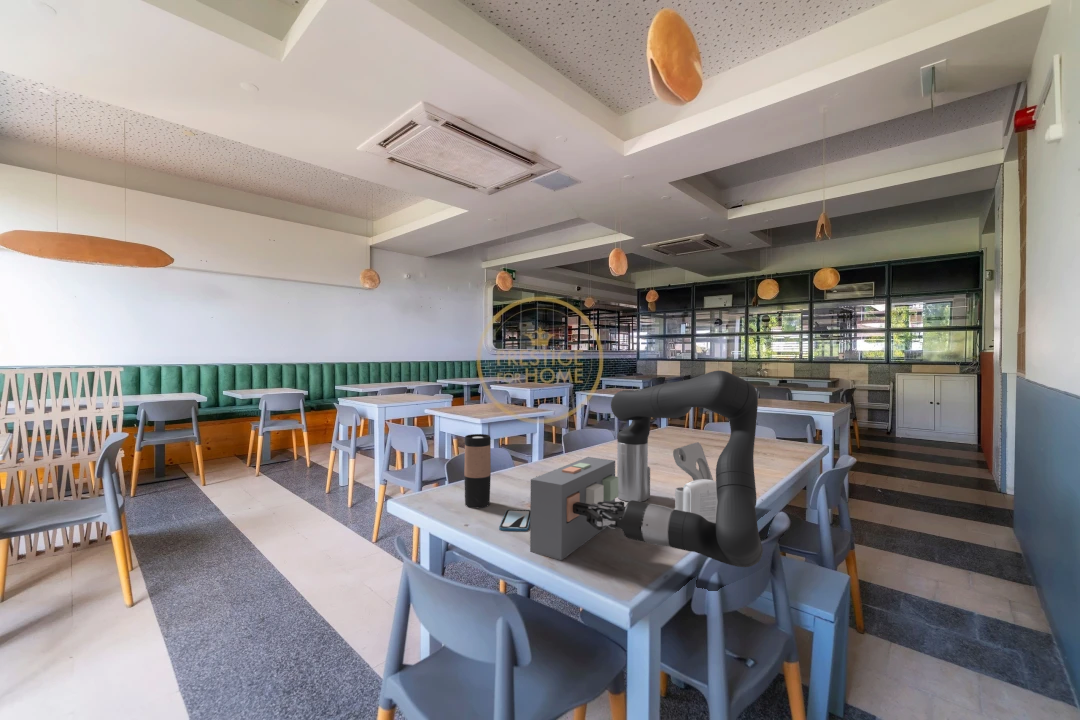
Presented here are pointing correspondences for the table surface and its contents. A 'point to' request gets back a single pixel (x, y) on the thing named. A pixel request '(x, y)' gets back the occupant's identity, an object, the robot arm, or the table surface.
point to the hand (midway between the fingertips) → (574, 507)
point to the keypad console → (563, 507)
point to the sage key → (610, 487)
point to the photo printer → (701, 498)
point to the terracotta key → (570, 502)
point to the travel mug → (477, 470)
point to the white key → (594, 493)
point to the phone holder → (690, 467)
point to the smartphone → (515, 520)
